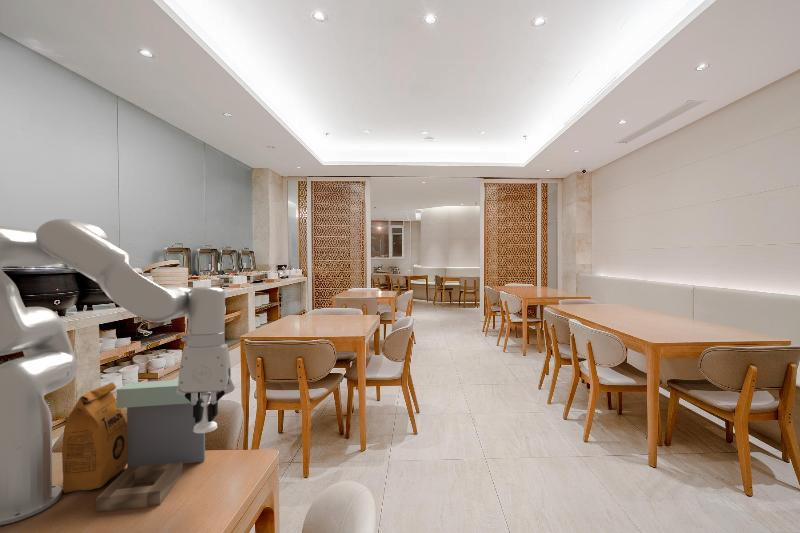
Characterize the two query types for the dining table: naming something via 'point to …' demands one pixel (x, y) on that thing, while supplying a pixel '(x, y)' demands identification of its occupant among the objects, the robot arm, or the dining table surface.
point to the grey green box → (159, 424)
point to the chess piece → (205, 417)
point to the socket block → (128, 497)
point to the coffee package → (94, 441)
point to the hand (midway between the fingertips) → (205, 419)
